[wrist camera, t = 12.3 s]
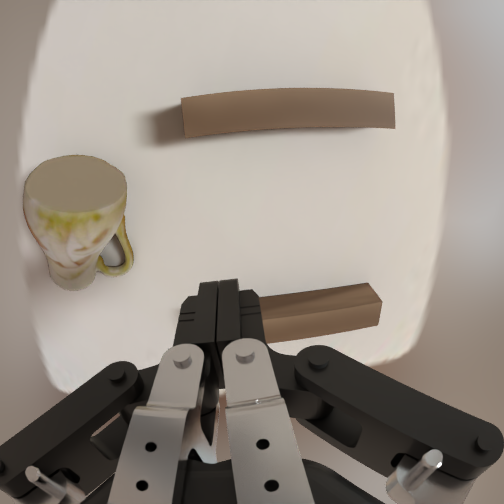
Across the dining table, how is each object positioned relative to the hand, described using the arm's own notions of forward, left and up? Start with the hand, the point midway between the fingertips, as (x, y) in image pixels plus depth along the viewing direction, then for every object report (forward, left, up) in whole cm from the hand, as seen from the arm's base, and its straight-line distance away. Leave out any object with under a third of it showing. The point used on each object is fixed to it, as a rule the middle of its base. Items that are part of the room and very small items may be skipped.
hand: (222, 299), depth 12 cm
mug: (-1, -10, -11) cm, 15 cm away
